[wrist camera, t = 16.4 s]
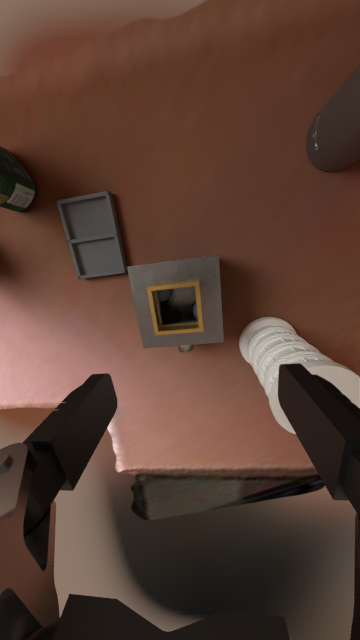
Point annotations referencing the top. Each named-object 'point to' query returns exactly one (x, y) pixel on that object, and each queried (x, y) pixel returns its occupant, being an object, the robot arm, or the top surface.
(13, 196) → the coffee jar
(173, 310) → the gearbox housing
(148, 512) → the top surface
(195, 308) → the bead
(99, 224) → the tray
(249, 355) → the decorative container
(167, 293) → the bead
